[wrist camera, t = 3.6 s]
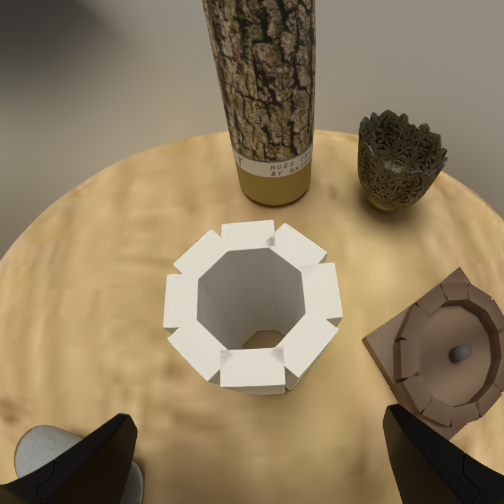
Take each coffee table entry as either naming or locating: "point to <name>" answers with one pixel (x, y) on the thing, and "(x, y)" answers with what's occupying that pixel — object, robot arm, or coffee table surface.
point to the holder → (444, 355)
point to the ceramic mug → (55, 443)
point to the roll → (252, 306)
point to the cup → (397, 160)
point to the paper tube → (267, 91)
